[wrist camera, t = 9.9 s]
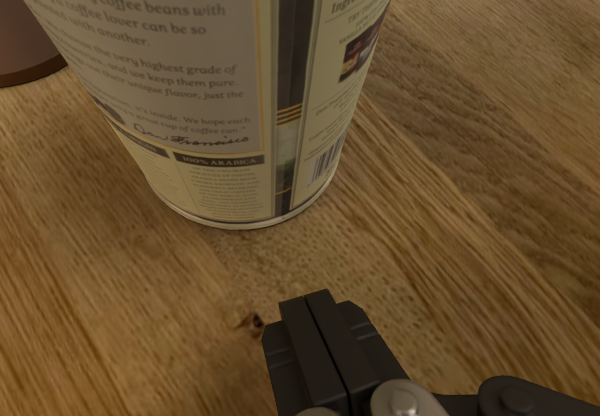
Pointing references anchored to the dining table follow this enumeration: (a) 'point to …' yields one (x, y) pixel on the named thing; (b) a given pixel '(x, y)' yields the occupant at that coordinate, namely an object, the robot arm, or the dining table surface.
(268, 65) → the coffee can
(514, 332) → the dining table surface
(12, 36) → the dark brown wooden coaster
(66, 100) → the dining table surface
